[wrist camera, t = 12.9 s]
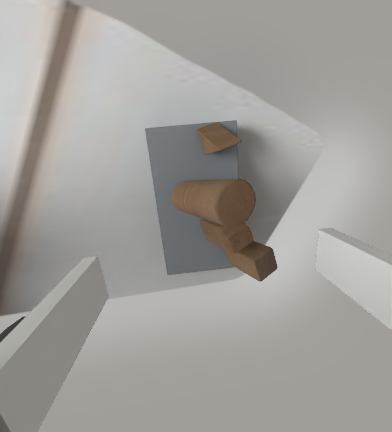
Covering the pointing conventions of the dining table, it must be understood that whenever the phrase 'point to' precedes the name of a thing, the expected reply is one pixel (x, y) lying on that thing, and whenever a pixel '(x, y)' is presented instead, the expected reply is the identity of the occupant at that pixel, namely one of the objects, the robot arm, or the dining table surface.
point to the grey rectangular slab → (178, 172)
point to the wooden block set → (225, 209)
